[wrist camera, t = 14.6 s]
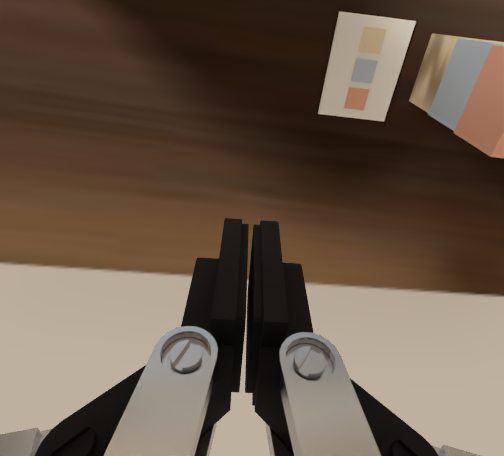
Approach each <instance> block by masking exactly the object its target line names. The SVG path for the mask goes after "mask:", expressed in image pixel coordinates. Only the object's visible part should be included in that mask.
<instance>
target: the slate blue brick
mask: <svg viewBox="0 0 504 456" xmlns="http://www.w3.org/2000/svg"><path fill="white" fill-rule="evenodd" d="M492 45H493V46H502V47H504V45H503V44H496V43H489V42H482V41H474V40H467V39H460V38H458V40H457V42H456V45H455V47H454V50H453V52H452V55H451V57H450V60H449V62H448V65H447V68H446V70H445V73H444V75H443V78H442V80H441V83H440V85H439V88H438V90H437V93H436V95H435V98H434V100H433V103H432V105H431V108H430V110H429V113H428V115H429V116H431V117H432V118H434V119H436V120H437V121H439V122H440V123H442V124H444V125H445V126H447V127H448V128H450V129H451V130H453V131H455V129H456V126H457V124H458V122H459V120H460V117H461V115H462V113H463V111H464V108H465V106H466V104H467V101H468V99H469V97H470V95H471V92H472V90H473V88H474V86H475V83H476V81H477V79H478V77H479V74H480V72H481V70H482V67H483V65H484V63H485V61H486V58H487V56H488V54H489V52H490V49H491V47H492Z"/></svg>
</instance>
